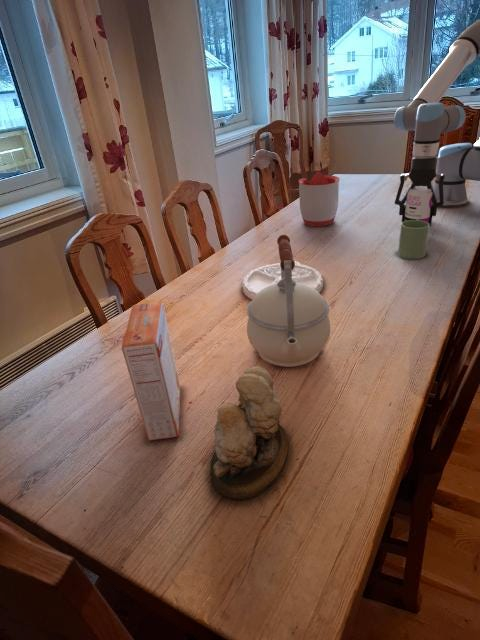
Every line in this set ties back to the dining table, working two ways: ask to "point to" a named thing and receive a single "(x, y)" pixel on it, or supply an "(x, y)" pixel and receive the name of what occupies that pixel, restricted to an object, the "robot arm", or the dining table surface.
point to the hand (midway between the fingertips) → (416, 224)
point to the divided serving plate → (272, 275)
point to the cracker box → (153, 370)
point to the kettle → (288, 317)
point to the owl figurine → (249, 439)
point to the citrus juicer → (319, 199)
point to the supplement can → (418, 204)
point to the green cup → (413, 239)
